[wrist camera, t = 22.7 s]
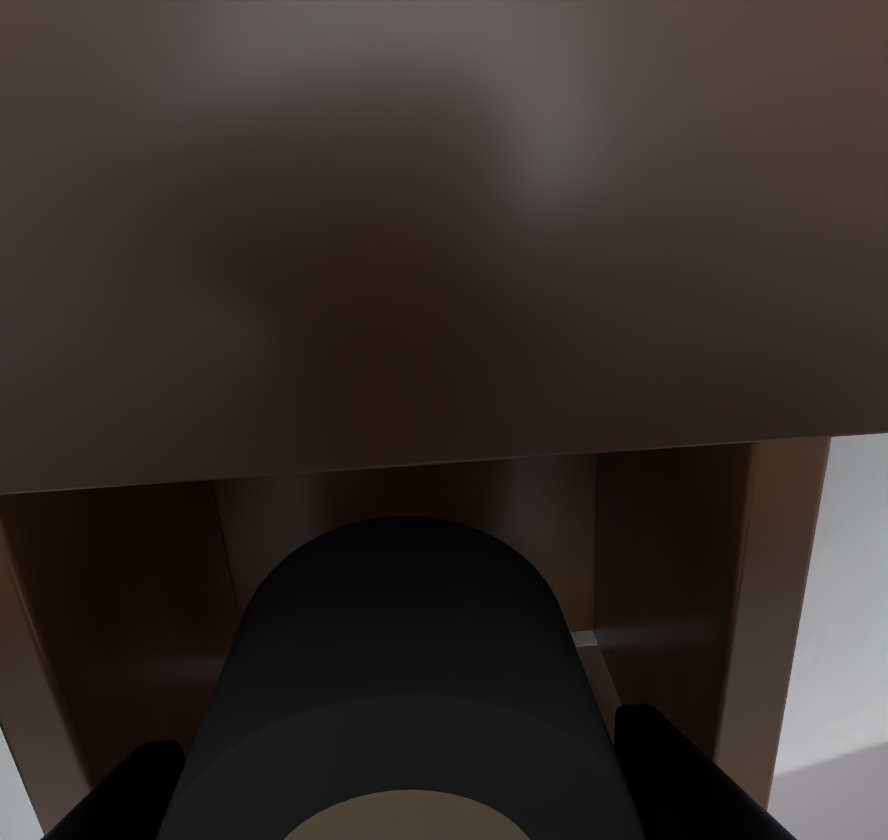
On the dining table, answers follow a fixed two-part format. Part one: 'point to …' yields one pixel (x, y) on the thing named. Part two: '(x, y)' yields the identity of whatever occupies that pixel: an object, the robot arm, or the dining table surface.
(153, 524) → the drawer
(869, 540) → the dining table surface
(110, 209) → the cabinet
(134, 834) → the robot arm
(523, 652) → the tape
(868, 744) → the dining table surface
